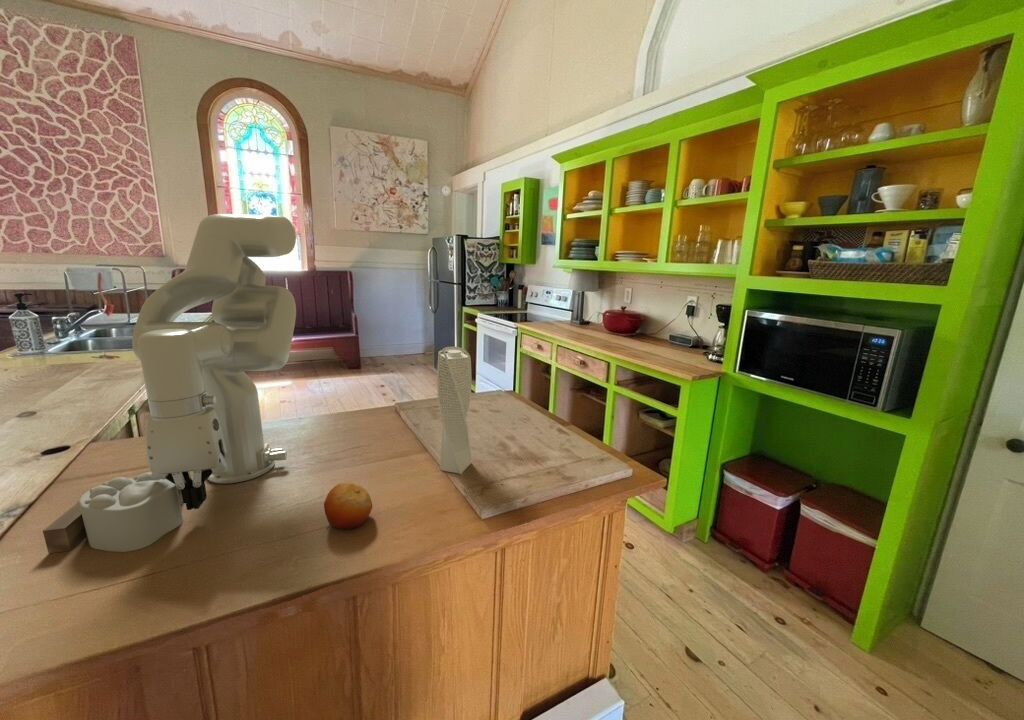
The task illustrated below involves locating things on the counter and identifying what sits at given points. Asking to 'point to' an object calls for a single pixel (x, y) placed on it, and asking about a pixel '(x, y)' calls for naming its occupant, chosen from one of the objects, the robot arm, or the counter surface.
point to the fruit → (347, 506)
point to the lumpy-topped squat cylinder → (130, 512)
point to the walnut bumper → (69, 530)
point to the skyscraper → (454, 407)
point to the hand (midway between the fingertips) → (196, 505)
